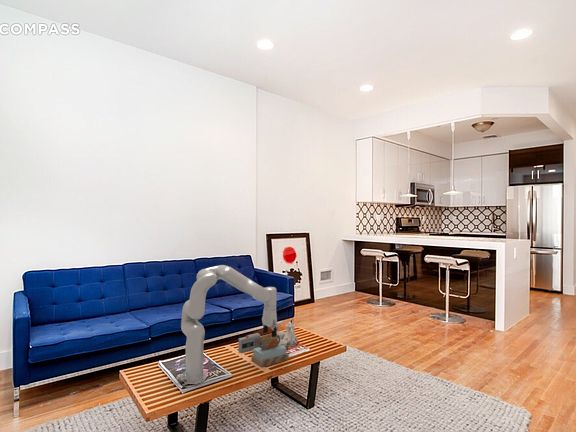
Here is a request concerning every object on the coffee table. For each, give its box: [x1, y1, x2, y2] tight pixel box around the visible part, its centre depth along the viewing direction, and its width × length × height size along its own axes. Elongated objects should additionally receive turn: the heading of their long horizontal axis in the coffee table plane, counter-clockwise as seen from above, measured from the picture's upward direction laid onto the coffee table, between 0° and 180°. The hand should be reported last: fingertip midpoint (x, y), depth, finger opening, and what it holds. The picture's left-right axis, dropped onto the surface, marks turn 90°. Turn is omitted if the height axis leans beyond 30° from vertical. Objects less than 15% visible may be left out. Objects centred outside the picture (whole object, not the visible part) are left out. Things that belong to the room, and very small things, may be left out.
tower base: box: [251, 352, 290, 368], centre depth 214 cm, size 20×12×4 cm, turn 126°
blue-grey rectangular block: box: [252, 344, 287, 361], centre depth 214 cm, size 18×10×4 cm, turn 124°
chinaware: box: [277, 321, 299, 348], centre depth 241 cm, size 28×17×17 cm, turn 10°
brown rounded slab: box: [258, 333, 280, 350], centre depth 215 cm, size 15×3×8 cm, turn 126°
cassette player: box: [237, 332, 262, 354], centre depth 230 cm, size 16×3×10 cm, turn 128°
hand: (269, 334), depth 214 cm, fingers open, 9 cm apart
